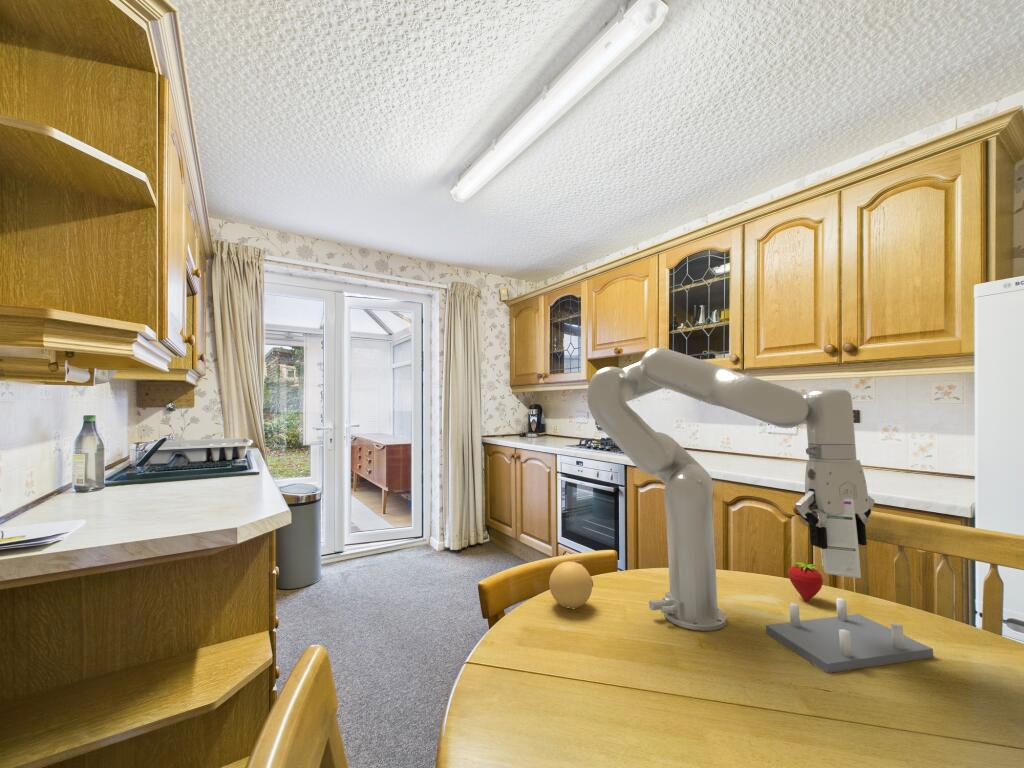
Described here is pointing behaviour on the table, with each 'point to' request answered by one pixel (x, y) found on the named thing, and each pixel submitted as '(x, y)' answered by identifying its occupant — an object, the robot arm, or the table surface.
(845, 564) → the syrup box
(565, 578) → the stress ball
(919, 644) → the plate
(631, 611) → the table surface
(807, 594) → the strawberry
